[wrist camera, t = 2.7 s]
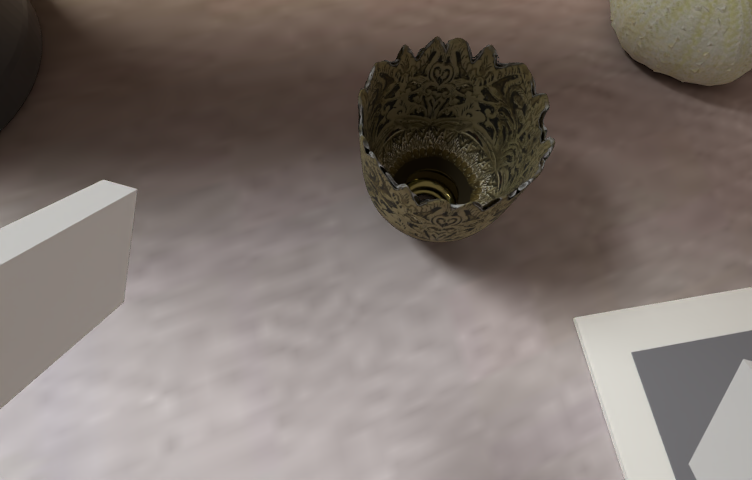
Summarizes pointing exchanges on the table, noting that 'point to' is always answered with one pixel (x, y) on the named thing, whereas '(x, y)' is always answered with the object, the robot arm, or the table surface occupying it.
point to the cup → (449, 138)
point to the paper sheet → (665, 375)
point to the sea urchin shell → (687, 37)
